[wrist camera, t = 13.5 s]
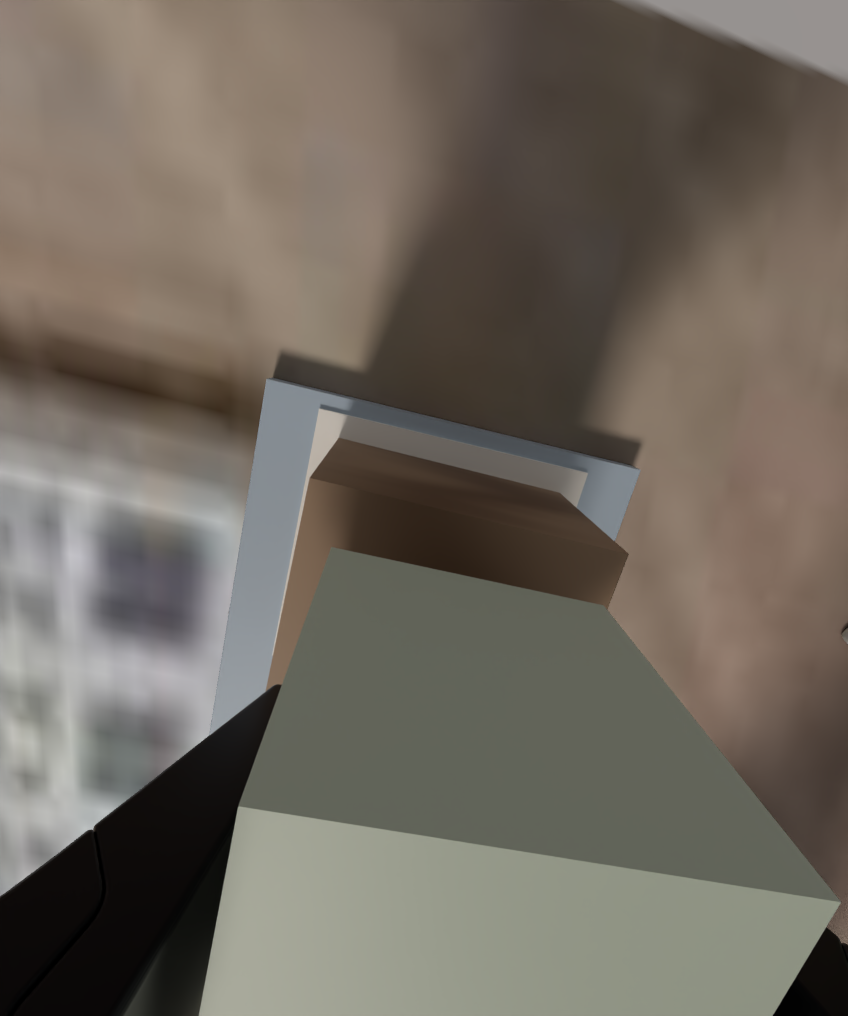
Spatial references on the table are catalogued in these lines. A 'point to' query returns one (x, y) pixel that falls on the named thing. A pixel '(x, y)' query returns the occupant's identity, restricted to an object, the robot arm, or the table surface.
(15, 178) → the table surface
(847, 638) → the skincare box
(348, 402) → the board
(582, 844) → the sage block
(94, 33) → the table surface
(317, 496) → the walnut block
